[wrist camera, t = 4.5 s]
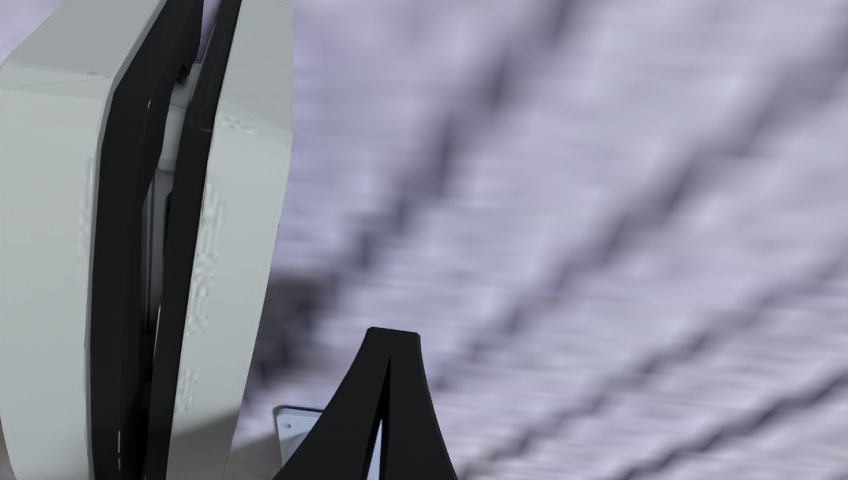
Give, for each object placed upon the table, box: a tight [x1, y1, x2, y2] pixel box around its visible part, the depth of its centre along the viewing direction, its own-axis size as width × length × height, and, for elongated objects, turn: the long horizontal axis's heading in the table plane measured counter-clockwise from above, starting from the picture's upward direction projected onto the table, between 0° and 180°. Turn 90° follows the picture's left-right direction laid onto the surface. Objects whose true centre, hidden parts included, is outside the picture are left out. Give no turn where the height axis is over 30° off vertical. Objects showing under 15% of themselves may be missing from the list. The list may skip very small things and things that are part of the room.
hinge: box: [0, 0, 293, 480], centre depth 12 cm, size 17×5×10 cm, turn 157°
